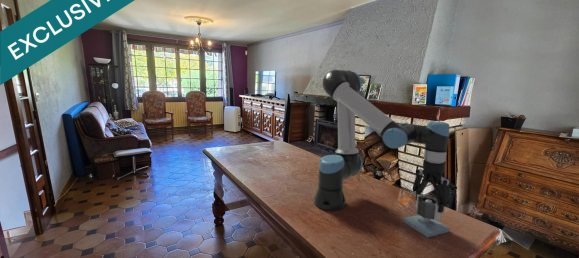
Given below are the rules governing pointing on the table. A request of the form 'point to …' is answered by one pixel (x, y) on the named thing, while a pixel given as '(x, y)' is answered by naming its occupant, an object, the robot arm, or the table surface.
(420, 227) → the shaft block
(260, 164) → the table surface
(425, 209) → the hub
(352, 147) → the robot arm
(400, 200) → the table surface
